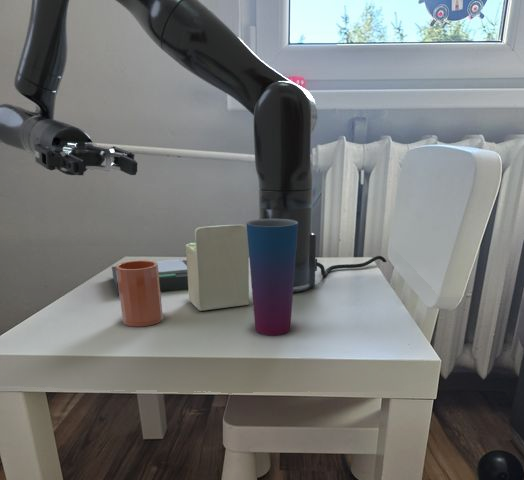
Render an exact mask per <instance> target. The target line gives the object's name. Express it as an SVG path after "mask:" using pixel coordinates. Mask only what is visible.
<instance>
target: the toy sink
mask: <svg viewBox="0 0 524 480" xmlns="http://www.w3.org/2000/svg"><path fill="white" fill-rule="evenodd" d="M185 251H186V254H185V255H186V260H187V273H188V289H187V290H188V300H189V302H190V303H191V304H192V305H193V306H194V307H195V308H196V309H197V310H198V311H200V312H201V311H210V310H218V309H225V308H234V307H240V306H248V305H249V304H250V289H249V288H250V277H249V276H250V275H249V273H250V271H249V269H250V259H249V247H248V235H247V225H246V224H223V225H209V226H200V227H197V228H195V230H194V242H189V243H186V244H185Z"/></svg>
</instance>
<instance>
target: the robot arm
mask: <svg viewBox="0 0 524 480" xmlns="http://www.w3.org/2000/svg"><path fill="white" fill-rule="evenodd" d="M115 2H117V3H119V4H120V5H121V6H122V7H123V8H125V9H126V10H127V12H129V13H130V14H131V15H132V16H133V18H134V19H135V20H136V21H137V23H138V24H139V25H140V27H141V28H142V30H143V31H144V32H145V33H146V34H147V36H148V37H149V38H150V39H151V41H152V42H153V43H155V45H156V46H158V47H159V48H160V49H161V50H162V51H163V52H164V53H166V54H167V55H168V56H169V57H170V58H172V60H174V61H175V62H176V63H178V64H179V66H181V67H183V68H184V69H185V70H187V71H188V72H189V73H191V74H192V75H194V76H196V77H197V78H199V79H200V80H202V81H203V82H205V83H207V84H209V85H210V86H213V87H214V88H215V89H218V90H219V91H221V92H223V93H225V94H226V95H228V96H230V97H231V98H233V99H234V100H235V101H237V102H238V103H239V104H240V105H241V106H243V107H244V108H245V110H247V111H248V112H249V113H250V114H251V115H252V116H253V147H254V163H255V165H254V166H255V172H256V175H257V178H258V207H259V208H258V212H259V213H258V214H259V219H289V220H295V221H297V222H298V231H297V245H296V258H295V272H294V285H293V293H300V292H303V291H308V290H309V289H314V288H315V287H316V272H317V271H318V268H319V269H320V274H321V276H322V277H324V278H325V277H327V276H328V275H329V273H330V272H331V271H333V270H336V269H356V268H357V269H358V268H364V267H366V266H368V265H370V264H372V263H373V262H375V261H377V260H380V261H382V263H387V262H388V261H387V259H386V258H385V257H384V256H383V255H375V256H373V257H371V258H370V259H369V260H367V261H365V262H362V263H350V264H347V263H346V264H333V265H331V266H328V268H325V266H324V265H323V264H322V263H320V262H318V258H317V235H316V234H315V233H314V232H313V194H314V193H313V192H314V172H313V168H312V167H313V166H312V160H311V159H312V158H311V156H312V155H311V152H312V151H311V147H312V146H311V145H312V140H311V139H312V135H313V133H314V132H315V130H316V127H317V123H318V117H319V116H318V108H317V104H316V101H315V99H314V98H313V96H312V94H311V93H310V92H309V91H308V90H307V89H306V88H304V87H302V86H300V85H298V84H297V83H295V82H293V81H291V80H290V79H289V78H287V77H285V76H283V75H282V74H281V73H279V72H278V71H276V70H275V69H274V68H272V67H271V66H269V65H268V64H267V63H265V62H264V61H263V60H261V59H260V58H259V57H258V56H257V55H256V54H255V53H254V52H253V51H252V50H251V49H250V48H249V46H248V45H246V43H244V41H243V40H242V39H241V38H240V37H239V36H238V35H237V34H236V33H235V32H234V31H233V30H232V29H231V28H230V27H229V26H228V25H227V24H226V23H224V22H223V20H221V18H220V17H218V16H217V15H216V14H215V13H214V12H213V11H212V10H210V9H209V7H207V6H206V5H205V4H204V3H202V2H201V1H200V0H115ZM69 4H70V0H31V5H30V14H29V19H28V20H29V21H28V24H27V29H26V34H25V39H24V42H23V47H22V49H21V52H20V56H19V60H18V62H17V67H16V71H15V74H14V79H13V86H14V89H15V90H16V91H17V92H18V93H19V94H20V95H21V96H23V97H24V98H25V99H27V100H29V101H30V102H32V103H34V105H35V108H34V111H33V110H29V109H26V108H25V107H21V106H18V105H15V104H12V103H8V102H6V103H5V102H4V103H1V104H0V143H1V144H3V145H6V146H8V147H11V148H15V149H18V150H21V151H24V152H26V153H29V154H30V155H32V156H33V157H34V158H35V160H34V161H35V163H37V164H39V165H41V166H42V167H44V169H46V170H49V171H55V170H57V171H59V172H61V173H63V174H65V175H68V176H84V175H85V173H86V172H87V171H88V170H100V171H104V172H110V171H111V172H112V171H113V170H115V171H116V170H117V171H121V172H123V173H126V174H127V175H130V176H136V175H137V173H138V162H137V160H135V156H136V154H135V153H134V152H132V151H128V150H125V149H122V148H120V147H117V146H114V145H113V146H111V147H108V146H102V145H98V144H97V143H96V142H93V140H92V138H91V137H90V136H89V134H87V132H85V131H84V130H83V129H81V128H79V127H77V126H75V125H71V124H69V123H66V122H63V121H61V120H58V119H55V107H56V99H57V95H58V91H59V88H60V85H61V82H62V79H63V76H64V73H65V69H66V66H67V61H68V47H69V46H68V31H67V30H68V29H67V27H68V23H67V21H68V20H67V19H68V10H69ZM104 162H105V165H103V163H104Z"/></svg>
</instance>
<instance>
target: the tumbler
mask: <svg viewBox="0 0 524 480" xmlns="http://www.w3.org/2000/svg"><path fill="white" fill-rule="evenodd" d="M153 261H154V260H129V261H124V262H121V263H118V264H116V265H115V266H116V273H117V280H118V288H119V296H118V297H119V301H120V310H121V316H122V323H123V325H125V326H128V327H139V328H140V327H148V326H154V325H156V324H159V323H160V322H162V321H163V319H164V318H163V315H164V314H163V303H162V295H161V293H162V292H160V283H159V273H158V264H157V263H156V262H153Z"/></svg>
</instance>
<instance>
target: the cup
mask: <svg viewBox="0 0 524 480" xmlns="http://www.w3.org/2000/svg"><path fill="white" fill-rule="evenodd" d="M246 226H247V235H248V258H249V269H250V271H249V272H250V282H251V293H252V295H251V296H252V305H253V317H254V329H255V332H257V333H258V334H261V335H264V336H279V335H285V334H287V333H289V332H290V331H291V325H292V311H293V299H294V298H293V297H294V292H293V285H294V272H295V258H296V245H297V231H298V222H297V221H295V220H289V219H253V220H248V221H247V222H246Z"/></svg>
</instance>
